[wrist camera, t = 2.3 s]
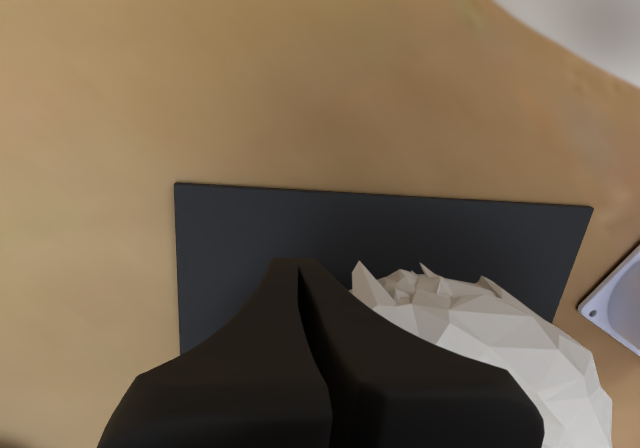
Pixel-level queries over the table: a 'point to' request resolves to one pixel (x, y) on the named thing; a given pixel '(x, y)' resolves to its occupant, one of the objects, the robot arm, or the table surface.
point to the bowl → (500, 346)
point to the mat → (363, 244)
